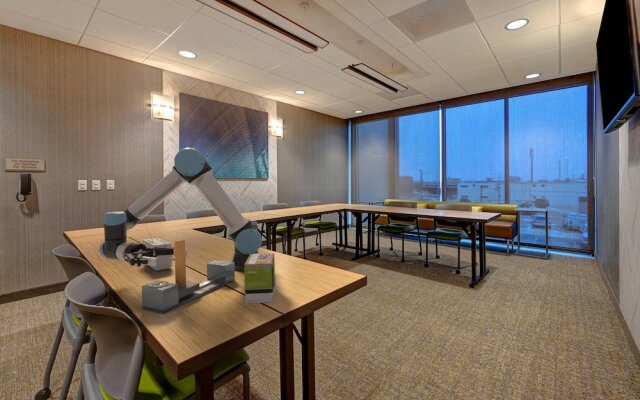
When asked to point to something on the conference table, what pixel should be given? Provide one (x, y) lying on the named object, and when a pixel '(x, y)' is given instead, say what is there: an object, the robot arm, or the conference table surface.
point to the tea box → (259, 278)
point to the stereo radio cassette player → (162, 260)
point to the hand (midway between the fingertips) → (172, 257)
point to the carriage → (182, 271)
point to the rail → (166, 294)
